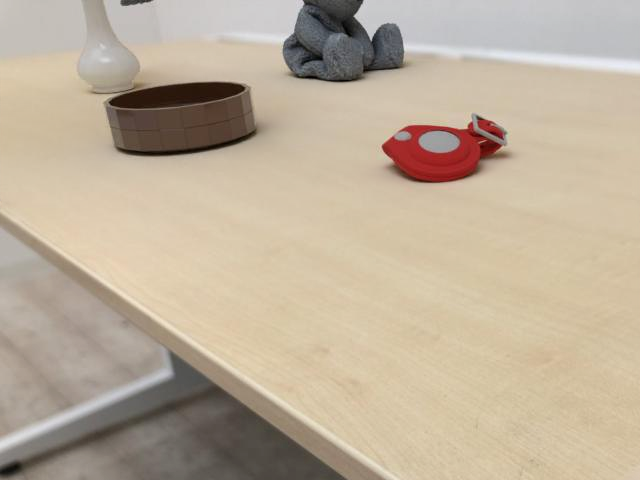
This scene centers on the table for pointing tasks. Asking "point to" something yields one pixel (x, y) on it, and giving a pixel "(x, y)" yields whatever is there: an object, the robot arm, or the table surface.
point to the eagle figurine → (133, 2)
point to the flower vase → (105, 54)
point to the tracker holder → (444, 148)
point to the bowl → (180, 116)
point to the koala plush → (339, 42)
